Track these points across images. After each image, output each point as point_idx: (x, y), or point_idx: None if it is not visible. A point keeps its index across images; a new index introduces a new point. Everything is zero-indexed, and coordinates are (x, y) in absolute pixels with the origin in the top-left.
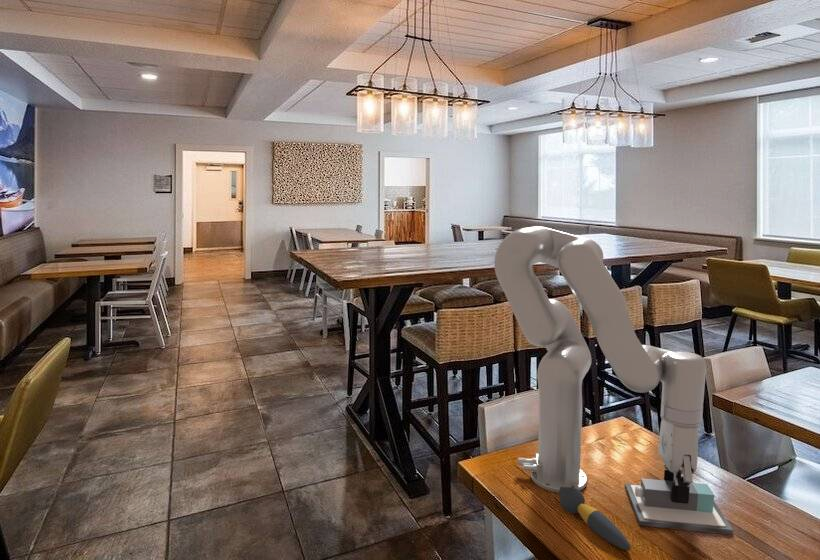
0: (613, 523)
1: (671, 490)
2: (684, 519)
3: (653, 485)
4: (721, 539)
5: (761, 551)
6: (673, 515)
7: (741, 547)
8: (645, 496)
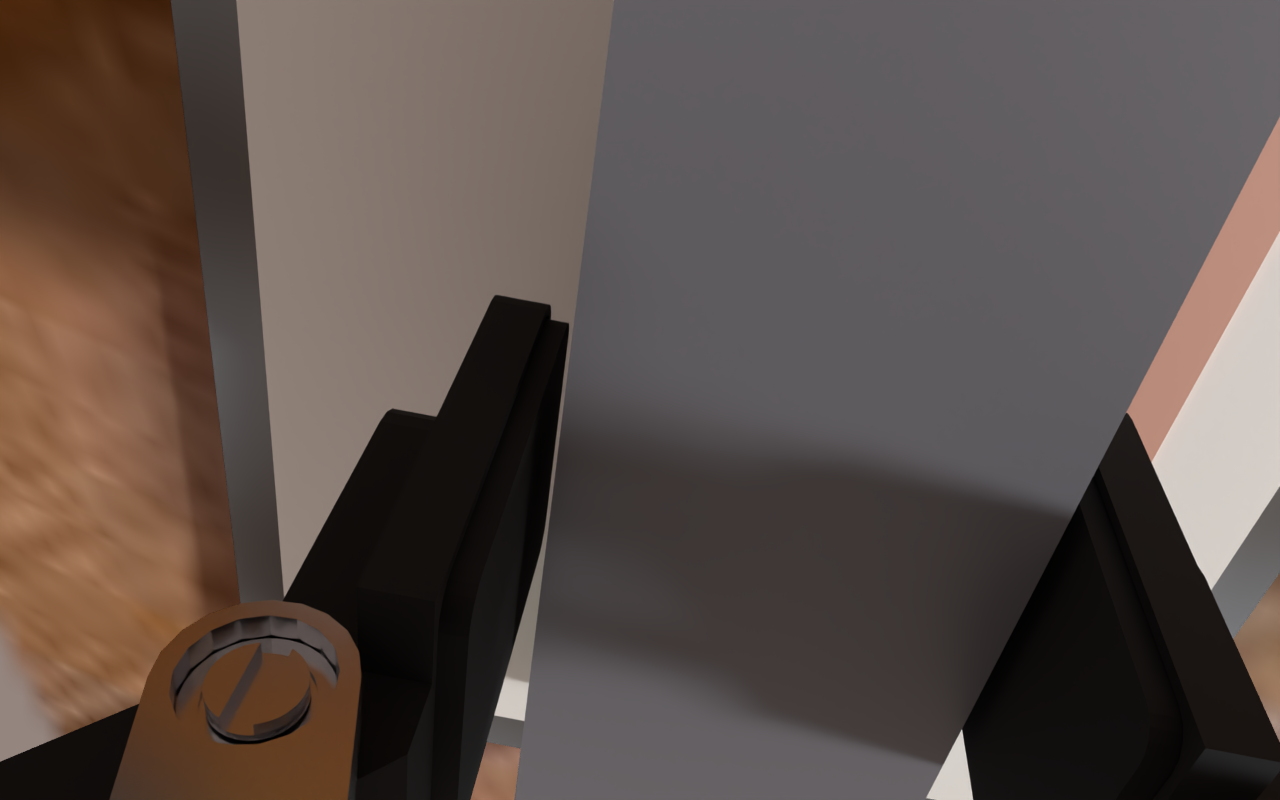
0: None
1: (489, 438)
2: (327, 295)
3: (858, 92)
4: (155, 516)
5: (71, 717)
6: (411, 174)
7: (72, 612)
8: None
